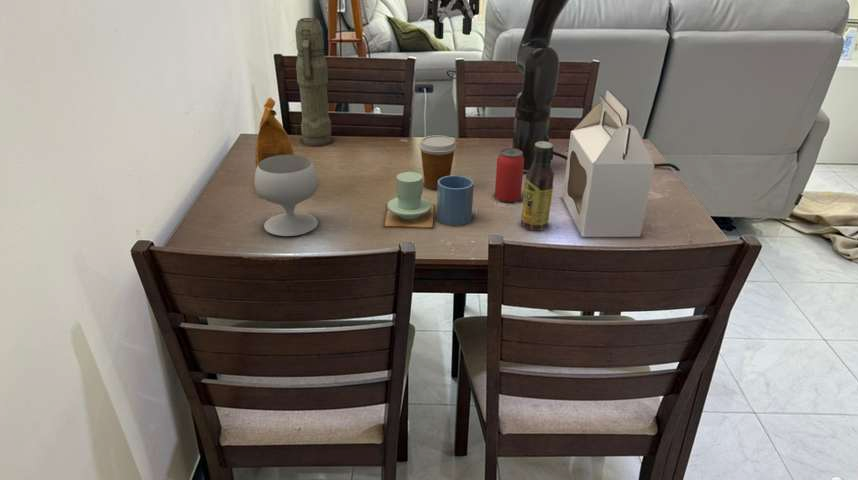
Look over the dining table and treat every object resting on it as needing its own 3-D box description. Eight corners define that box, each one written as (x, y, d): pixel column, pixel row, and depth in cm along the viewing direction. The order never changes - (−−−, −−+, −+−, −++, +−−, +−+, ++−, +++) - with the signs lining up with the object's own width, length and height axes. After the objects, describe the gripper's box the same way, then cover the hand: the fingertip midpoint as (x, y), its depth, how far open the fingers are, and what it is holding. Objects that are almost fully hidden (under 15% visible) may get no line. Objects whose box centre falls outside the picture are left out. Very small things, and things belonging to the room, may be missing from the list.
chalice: (324, 236, 150) (319, 173, 142) (260, 242, 147) (252, 178, 140) (319, 210, 162) (314, 150, 154) (259, 215, 159) (252, 154, 151)
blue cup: (471, 210, 162) (472, 175, 158) (472, 225, 155) (473, 189, 151) (437, 209, 163) (438, 174, 158) (436, 224, 156) (437, 188, 151)
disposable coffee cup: (451, 193, 171) (453, 148, 165) (415, 190, 173) (415, 145, 166) (457, 179, 179) (459, 136, 173) (422, 176, 181) (423, 133, 175)
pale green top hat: (431, 206, 164) (432, 168, 159) (430, 224, 155) (431, 186, 150) (389, 205, 164) (388, 167, 159) (385, 223, 155) (385, 185, 150)
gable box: (561, 197, 169) (576, 85, 155) (613, 197, 170) (632, 86, 155) (582, 238, 150) (600, 114, 136) (640, 237, 151) (665, 114, 136)
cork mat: (433, 206, 164) (433, 205, 164) (432, 228, 154) (432, 226, 154) (388, 205, 165) (388, 203, 164) (384, 227, 154) (384, 225, 154)
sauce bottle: (518, 220, 158) (525, 138, 148) (544, 219, 158) (553, 138, 148) (524, 232, 152) (532, 148, 142) (551, 232, 153) (561, 148, 143)
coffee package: (297, 177, 180) (289, 94, 168) (297, 195, 169) (289, 109, 158) (259, 179, 178) (249, 96, 167) (257, 198, 168) (246, 111, 156)
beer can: (523, 194, 171) (527, 149, 165) (517, 204, 166) (521, 158, 160) (497, 190, 173) (501, 146, 167) (491, 200, 168) (494, 154, 161)
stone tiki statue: (300, 148, 199) (289, 23, 181) (304, 135, 209) (294, 15, 191) (330, 147, 200) (322, 23, 182) (333, 134, 210) (325, 15, 192)
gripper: (467, -41, 160) (464, 30, 169) (420, -37, 153) (420, 37, 161) (489, -38, 155) (485, 35, 164) (441, -34, 148) (439, 42, 156)
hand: (452, 36), depth 162 cm, fingers open, 8 cm apart
